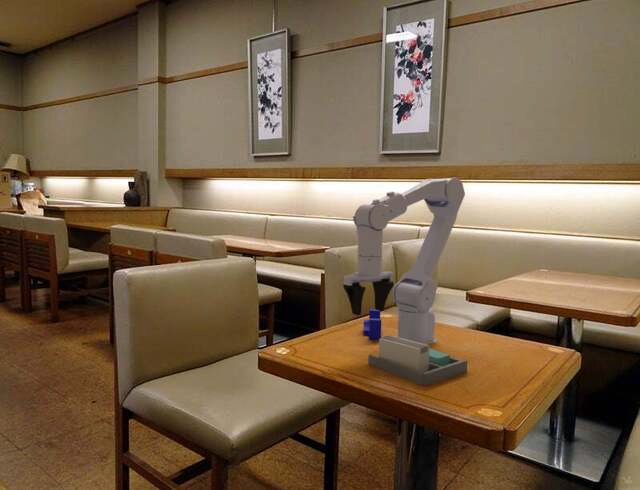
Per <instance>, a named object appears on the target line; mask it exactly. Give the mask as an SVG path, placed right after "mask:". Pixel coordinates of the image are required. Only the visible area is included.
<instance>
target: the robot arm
mask: <svg viewBox="0 0 640 490" xmlns="http://www.w3.org/2000/svg"><path fill="white" fill-rule="evenodd" d="M465 195H466V193H465V187H464V184H463V182H462V180H461V179H460V178H459V177H451V178H449V177H448V178H426V179H423V180H421V181H420V183H418V184H416V185H414V186H412V187H411V188H409V189H408V190H407V189H406V191H404V192H402V193H400V192H397V191H388V192H386V196H383V197H382V198H380V199H377V198H375V199H373V200H372V202H371V203H370V204H361V205H360V206H358V207H357V209H356V210H355V213H354V215H353V216H352V220H353V224H354V225H355V227H356V233H357V238H358V239H357V261H356V264H357V268H356V271H355V272H354V273H352V274H349V275H343V285H342V286H343V289H344V291H345V293H346V296H347V298H348V300H349V303H350V304H349V305H350V307H351V308H350V309H351V313H352V314H353V315H355V316H361V314H362V307H363V306H362V305H363V298H364V293H365V291H366V290H367V289H366V287H365V286H362V285H361V284H365V283H367V284H368V283H372V287H373V291H374V308H375V309H374V310H379V311H380V312H384V310H385V305H386V302H387V300H388V296H389V294H390V292H391V290H392V300H393V301H394V302H395V304H396V308H398V316H397V337H399V338H403V339H407V340H410V341H414V342H418V343H422V344H426V345H430V344H433V343H436V342H437V340H435V328H436V318H435V314H434V311H433V310H432V309H431V308H432V307H433V305H434V303H435V299H436V291H437V288H438V286H437V283H436V282H435V280H434V279H433V275H434V273H435V271H436V268H437V266H438V263H439V261H440V259H441V256H442V255H443V252H444V249H445V247H446V244H447V241H448V240H449V237H450V235H451V234H452V233H451V232H452V231H453V228H454V226H455V223H456V220H457V217H458V212H459V210H460V208H461V205H462V203H463V200H464V198H465ZM423 200H424V202H425V204H426V206H427V208H428V210H429V212H430V213H431V214H433V219H432V220H431V221H432V222H431V224H430V226H429V228H428V231H427V233H426V235H425V238H424V240H423V243H422V245H421V247H420V250H419V251H418V254H417V256H416V259H415V261H414V264H413V266H412V268H411V269H410V270H408V271H406V272H404V273H403V274H402V275H401V277H400V279H399V280H398V282H397V283H395V282H394V281H393V280H394V272H393V271H388V270H386V271H382V268H383V267H382V264H383V263H382V262H383V235H384V234H383V231H384V229H386V227H387V226H388V225H389V222H390V221H393V220H394V219H396V218H398V217H399V216H402V215H404V214H405V213H407V210H408V207H410V206H412V205H413V204H417V203H419V202H421V201H423ZM394 283H395V284H394Z"/></svg>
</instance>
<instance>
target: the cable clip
mask: <svg viewBox="0 0 640 490" xmlns="http://www.w3.org/2000/svg"><path fill="white" fill-rule="evenodd" d="M368 314H369V315H368V319H363V336H368V339H369V340H368V341H379V339H380V338H381V337H382V319H381V311H379V310H376V309H371V308H370V309H369V313H368Z"/></svg>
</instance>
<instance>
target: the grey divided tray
mask: <svg viewBox="0 0 640 490" xmlns="http://www.w3.org/2000/svg"><path fill="white" fill-rule="evenodd" d="M367 362H368V365H370V366H373V367H374V368H375V367H376V368H377V369H380V370H383V371H386V372H388V373H391V374H393V375H396V376H398V377H401V378H404V379H406V380H409V381H411V382H413V383H416V384H418V385H420V386H424V387H427V386H430V385H432V384H433V385H434V384H435V383H439V382H441V381H444V380H448V379H450V378H453V377H456V376H458V375H462V374H465V373H467V372H468V360H467V359H458V358H455V357H453V356H450V364H449V365H446V366H443V367H442V366H439V365H436V364H433V363H430V362H429V369H428V371H427V372H424V373H419V372H417V371H414V370H411V369H409V368H406V367H403V366H401V365H398V364H395V363H392V362H390V361H387V360H384V359H382V358H379V356H376V355H373V354H368V360H367Z"/></svg>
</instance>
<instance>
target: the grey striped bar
mask: <svg viewBox="0 0 640 490" xmlns="http://www.w3.org/2000/svg"><path fill="white" fill-rule="evenodd" d="M378 341H379V342H378V357H379V358H382V359H384V360H387V361H390V362H392V363H395V364H398V365H401V366H403V367H406V368H409V369H411V370H414V371H417V372H419V373H424V372H427V371H428V369H429V349H430V344H422V343H418V342H414V341H410V340H407V339H403V338H399V337H398V336H395V335H394V336H393V335H384V336H381V338H380V339H379V340H378Z"/></svg>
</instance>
